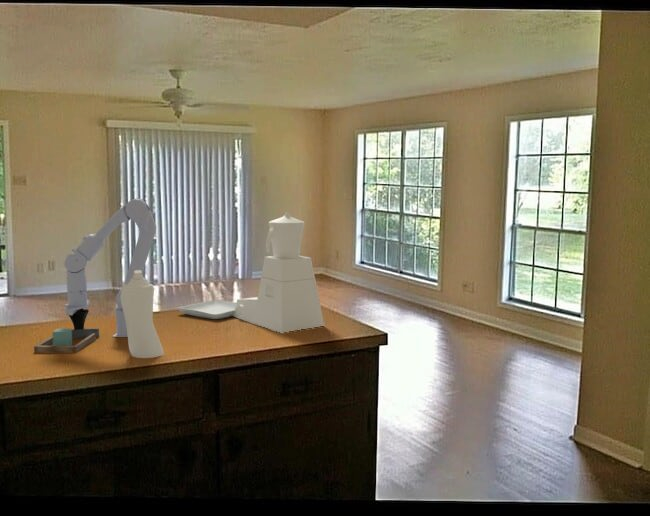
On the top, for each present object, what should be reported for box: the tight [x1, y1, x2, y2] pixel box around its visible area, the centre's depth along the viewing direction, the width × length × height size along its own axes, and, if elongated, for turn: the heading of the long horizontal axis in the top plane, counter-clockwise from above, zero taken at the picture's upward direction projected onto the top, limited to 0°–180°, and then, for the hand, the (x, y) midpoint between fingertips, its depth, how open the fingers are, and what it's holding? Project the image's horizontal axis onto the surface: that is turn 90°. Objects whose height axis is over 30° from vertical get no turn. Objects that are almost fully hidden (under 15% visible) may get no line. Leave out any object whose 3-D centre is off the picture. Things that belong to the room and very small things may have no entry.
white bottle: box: [120, 270, 165, 359], centre depth 178 cm, size 12×11×25 cm
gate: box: [71, 327, 100, 340], centre depth 199 cm, size 12×1×3 cm, turn 106°
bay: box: [33, 333, 97, 354], centre depth 189 cm, size 12×16×2 cm
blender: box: [232, 211, 325, 334], centre depth 222 cm, size 33×18×40 cm, turn 37°
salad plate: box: [176, 299, 236, 320], centre depth 239 cm, size 21×21×3 cm
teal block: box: [51, 328, 73, 346], centre depth 187 cm, size 4×4×6 cm
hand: (79, 332), depth 200 cm, fingers closed, pressing on gate
